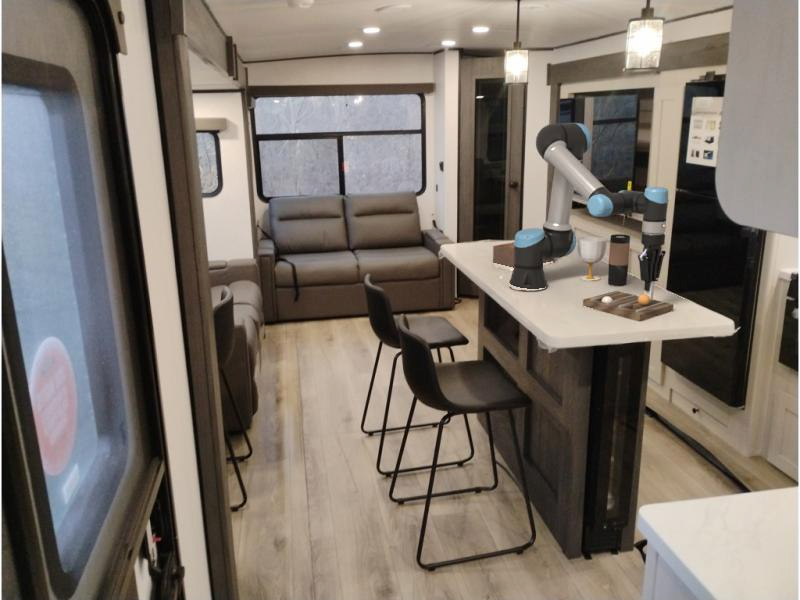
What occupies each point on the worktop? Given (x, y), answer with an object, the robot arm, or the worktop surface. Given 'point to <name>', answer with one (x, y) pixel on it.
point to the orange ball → (643, 299)
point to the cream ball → (606, 299)
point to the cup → (591, 251)
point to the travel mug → (618, 259)
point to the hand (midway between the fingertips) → (648, 299)
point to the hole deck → (628, 306)
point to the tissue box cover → (507, 255)
